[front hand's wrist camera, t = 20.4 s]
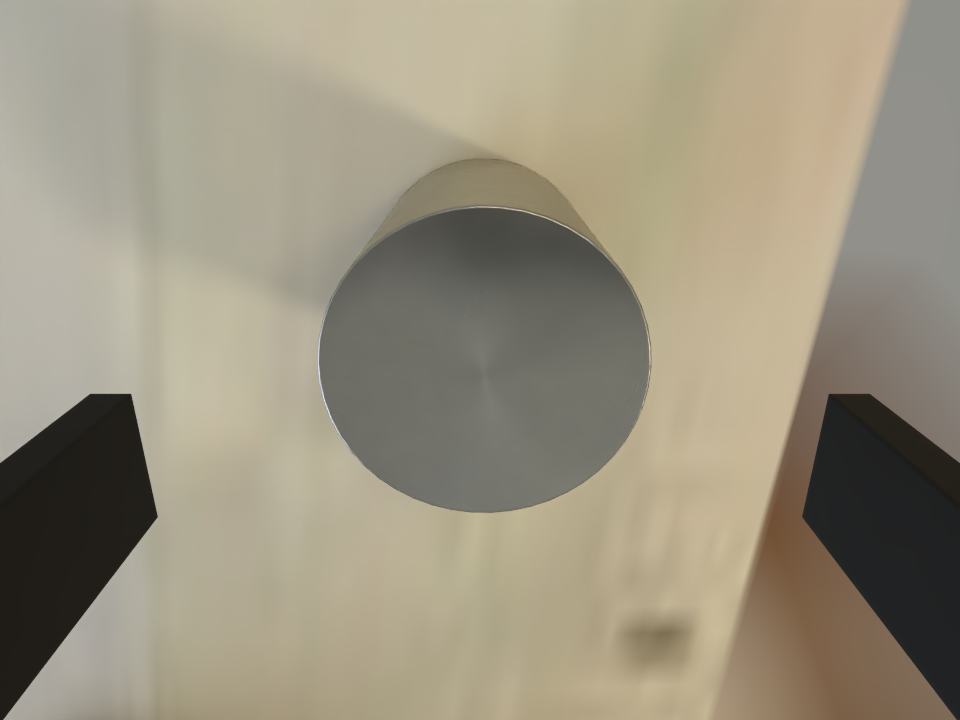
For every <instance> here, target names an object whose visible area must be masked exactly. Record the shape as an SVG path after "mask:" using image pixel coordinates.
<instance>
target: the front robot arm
mask: <svg viewBox="0 0 960 720" xmlns="http://www.w3.org/2000/svg"><path fill="white" fill-rule="evenodd" d="M157 517H158V516H157V511H156V507H155V502H154V497H153V493H152V488H151V484H150V479H149V474H148V470H147V465H146V461H145V456H144V451H143V447H142V442H141V438H140V433H139V428H138V424H137V419H136V414H135V410H134V405H133V401H132V396H131V394H90V395H88V396H87V397H86V398H84V399H83V400H82V401H81V402H79V403H78V404H77V405H75V406H74V407H73V408H71V409H70V410H69V411H68V412H66V413H65V414H64V415H62V416H61V417H60V418H58V419H57V420H56V421H55V422H53V423H52V424H51V425H49V426H48V427H47V428H45V429H44V430H43V431H42V432H40V433H39V434H38V435H36V436H35V437H34V438H32V439H31V440H30V441H29V442H27V443H26V444H25V445H23V446H22V447H21V448H19V449H18V450H17V451H16V452H14V453H13V454H12V455H10V456H9V457H8V458H6V459H5V460H4V461H2V462H1V463H0V720H3V719H4V718H5V717H6V715H7V714H8V713H9V711H10V710H11V709H12V707H13V706H14V705H15V704H16V702H17V701H18V700H19V698H20V697H21V696H22V694H23V693H24V692H25V690H26V689H27V688H28V686H29V685H30V684H31V683H32V681H33V680H34V679H35V677H36V676H37V675H38V673H39V672H40V671H41V669H42V668H43V667H44V665H45V664H46V663H47V662H48V660H49V659H50V658H51V656H52V655H53V654H54V652H55V651H56V650H57V648H58V647H59V646H60V644H61V643H62V642H63V641H64V639H65V638H66V637H67V635H68V634H69V633H70V631H71V630H72V629H73V627H74V626H75V625H76V624H77V622H78V621H79V620H80V618H81V617H82V616H83V614H84V613H85V612H86V610H87V609H88V608H89V606H90V605H91V604H92V603H93V601H94V600H95V599H96V597H97V596H98V595H99V593H100V592H101V591H102V589H103V588H104V587H105V585H106V584H107V583H108V582H109V580H110V579H111V578H112V576H113V575H114V574H115V572H116V571H117V570H118V568H119V567H120V566H121V564H122V563H123V562H124V561H125V559H126V558H127V557H128V555H129V554H130V553H131V551H132V550H133V549H134V547H135V546H136V545H137V544H138V542H139V541H140V540H141V538H142V537H143V536H144V534H145V533H146V532H147V530H148V529H149V528H150V526H151V525H152V524H153V523H154V521H155V520H156V519H157ZM802 517H803V519H804V520H805V521H806V523H807V524H808V525H809V526H810V528H811V529H812V530H813V532H814V533H815V534H816V536H817V537H818V538H819V540H820V541H821V542H822V543H823V545H824V546H825V547H826V549H827V550H828V551H829V553H830V554H831V555H832V557H833V558H834V559H835V561H836V562H837V563H838V564H839V566H840V567H841V568H842V570H843V571H844V572H845V574H846V575H847V576H848V578H849V579H850V580H851V582H852V583H853V584H854V585H855V587H856V588H857V589H858V591H859V592H860V593H861V595H862V596H863V597H864V599H865V600H866V601H867V603H868V604H869V605H870V606H871V608H872V609H873V610H874V612H875V613H876V614H877V616H878V617H879V618H880V620H881V621H882V622H883V623H884V625H885V626H886V627H887V629H888V630H889V631H890V633H891V634H892V635H893V637H894V638H895V639H896V640H897V642H898V643H899V644H900V646H901V647H902V648H903V650H904V651H905V652H906V654H907V655H908V656H909V658H910V659H911V660H912V662H913V663H914V664H915V665H916V667H917V668H918V669H919V671H920V672H921V673H922V675H923V676H924V677H925V679H926V680H927V681H928V683H929V684H930V685H931V686H932V688H933V689H934V690H935V692H936V693H937V694H938V696H939V697H940V698H941V700H942V701H943V702H944V703H945V705H946V706H947V707H948V709H949V710H950V711H951V713H952V714H953V715H954V717H955V718H956V719H957V720H960V463H959V462H957V461H956V460H955V459H954V458H952V457H951V456H950V455H948V454H947V453H946V452H944V451H943V450H942V449H940V448H939V447H938V446H937V445H935V444H934V443H933V442H931V441H930V440H929V439H928V438H926V437H925V436H924V435H922V434H921V433H920V432H918V431H917V430H916V429H915V428H913V427H912V426H911V425H909V424H908V423H907V422H905V421H904V420H903V419H901V418H900V417H899V416H898V415H896V414H895V413H894V412H892V411H891V410H890V409H889V408H887V407H886V406H885V405H883V404H882V403H881V402H879V401H878V400H877V399H876V398H874V397H873V396H872V395H870V394H829V396H828V401H827V405H826V410H825V415H824V419H823V424H822V428H821V433H820V438H819V442H818V447H817V451H816V456H815V461H814V465H813V470H812V474H811V479H810V484H809V488H808V493H807V497H806V502H805V507H804V511H803V516H802Z"/></svg>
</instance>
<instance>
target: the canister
mask: <svg viewBox="0 0 960 720" xmlns="http://www.w3.org/2000/svg"><path fill="white" fill-rule="evenodd" d="M318 372H319V382H320V386H321V391H322V395H323V400H324V402H325V405H326V408H327V410H328V413H329V416H330V418H331V420H332V422H333V424H334V426H335V428H336V429H337V431H338V433H339V435H340V437H341V438H342V439H343V441H344V442H345V444H346V445H347V446H348V448H349V449H350V451H351V452H352V453H353V454H354V455H355V456H356V457H357V458H358V459H359V461H360V462H361V463H362V464H363V465H364V466H365V467H366V468H368V469H369V470H370V471H371V472H372V473H373V474H375V475H376V476H377V477H378V478H379V479H381V480H382V481H384V482H385V483H387V484H388V485H390V486H392V487H393V488H395V489H396V490H398V491H400V492H402V493H404V494H406V495H408V496H410V497H412V498H414V499H417V500H420V501H422V502H425V503H428V504H431V505H434V506H438V507H442V508H446V509H450V510H457V511H465V512H484V513H492V512H503V511H512V510H517V509H522V508H527V507H531V506H534V505H537V504H540V503H543V502H546V501H549V500H552V499H554V498H556V497H558V496H560V495H563V494H565V493H567V492H569V491H570V490H572V489H574V488H575V487H577V486H579V485H580V484H582V483H584V482H585V481H586V480H587V479H589V478H590V477H591V476H593V475H594V474H595V473H596V472H598V471H599V470H600V469H601V468H602V467H603V466H604V465H605V464H606V463H607V462H608V461H609V460H610V459H611V458H612V457H613V456H614V455H615V454H616V452H617V451H618V450H619V448H620V447H621V446H622V445H623V443H624V442H625V441H626V439H627V437H628V436H629V434H630V432H631V431H632V429H633V427H634V426H635V424H636V422H637V419H638V417H639V415H640V412H641V410H642V408H643V405H644V401H645V398H646V394H647V390H648V387H649V380H650V372H651V343H650V337H649V331H648V325H647V322H646V319H645V315H644V312H643V309H642V306H641V304H640V302H639V300H638V297H637V295H636V293H635V291H634V289H633V287H632V285H631V284H630V282H629V281H628V279H627V278H626V276H625V275H624V273H623V272H622V270H621V269H620V268H619V266H618V265H617V264H616V262H615V261H614V260H613V259H612V257H611V256H610V255H609V253H608V252H607V251H606V250H605V248H604V247H603V246H602V244H601V243H600V242H599V240H598V239H597V238H596V237H595V235H594V234H593V233H592V231H591V230H590V229H589V228H588V226H587V225H586V224H585V222H584V221H583V220H582V219H581V217H580V216H579V215H578V213H577V212H576V211H575V209H574V208H573V207H572V206H571V204H570V203H569V202H568V200H567V199H566V198H565V197H564V196H563V195H562V194H561V192H560V191H559V190H558V189H557V188H556V187H555V186H554V185H552V184H551V183H550V182H549V181H548V180H546V179H545V178H543V177H542V176H540V175H539V174H537V173H536V172H534V171H532V170H530V169H527V168H525V167H523V166H521V165H518V164H514V163H511V162H508V161H502V160H496V159H472V160H464V161H460V162H456V163H452V164H449V165H446V166H444V167H441V168H439V169H437V170H435V171H433V172H431V173H430V174H428V175H426V176H424V177H423V178H422V179H421V180H419V181H418V182H417V183H415V184H414V185H413V186H412V187H411V188H410V189H409V190H408V191H407V192H406V193H405V194H404V195H403V196H402V198H401V199H400V200H399V202H398V203H397V204H396V206H395V207H394V208H393V210H392V211H391V213H390V214H389V215H388V217H387V218H386V219H385V221H384V222H383V223H382V225H381V226H380V228H379V229H378V230H377V232H376V233H375V234H374V236H373V237H372V238H371V240H370V241H369V243H368V244H367V245H366V247H365V248H364V249H363V251H362V252H361V253H360V255H359V256H358V258H357V259H356V260H355V262H354V263H353V264H352V266H351V267H350V268H349V270H348V271H347V273H346V274H345V275H344V277H343V278H342V279H341V281H340V283H339V284H338V286H337V288H336V290H335V292H334V294H333V296H332V297H331V299H330V302H329V305H328V307H327V310H326V313H325V315H324V318H323V322H322V327H321V332H320V336H319V344H318Z"/></svg>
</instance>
